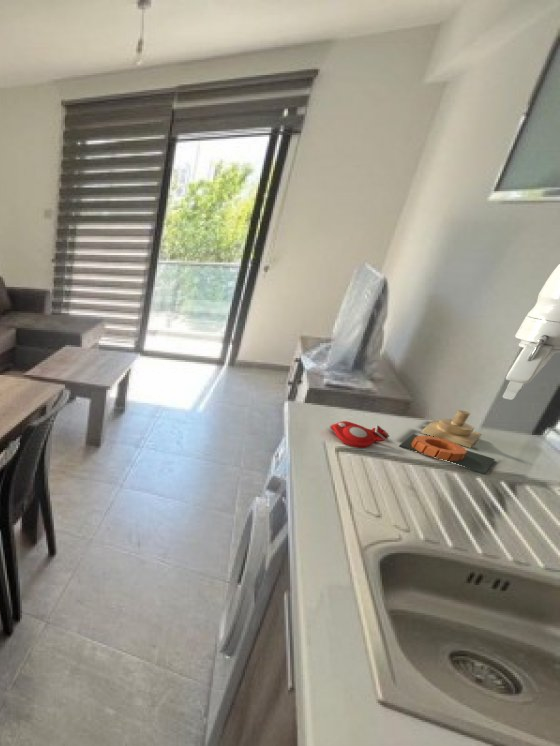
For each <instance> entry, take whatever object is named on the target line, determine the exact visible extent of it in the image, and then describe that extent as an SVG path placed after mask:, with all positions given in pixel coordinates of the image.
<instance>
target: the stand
mask: <svg viewBox="0 0 560 746" xmlns="http://www.w3.org/2000/svg"><path fill="white" fill-rule="evenodd" d="M470 415H471V413H470V412H469V411H466V410H460V409H459V410H457V412H456V413H455V415H454V416H453V418H452V419H451V418H441V419H440V420H439V421H438V420H435V419H434V420H432V421H431V422H430V423H428V424H427V425H426V426H425V427H424V428H423V429H422V431H421V434H423V435H426V434H427V435H426V436H429V435H430V436H432V437H433V436H434V437H437V438H440V439H441V440H442V439H444V440H448V441H451V442H453V443H456V444H458V445H460V446H462V447H467V448H470V449H471V448H472V447H473V446H474V445H475V444H476V442H477V441H478V440H479V439H480V438H481V436H482V433H481V432H477V431H474V430H475V427H474V426H472V425H470V424H469V423H466V422H467V420H468V418H469V416H470ZM430 436H429V437H430Z"/></svg>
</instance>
